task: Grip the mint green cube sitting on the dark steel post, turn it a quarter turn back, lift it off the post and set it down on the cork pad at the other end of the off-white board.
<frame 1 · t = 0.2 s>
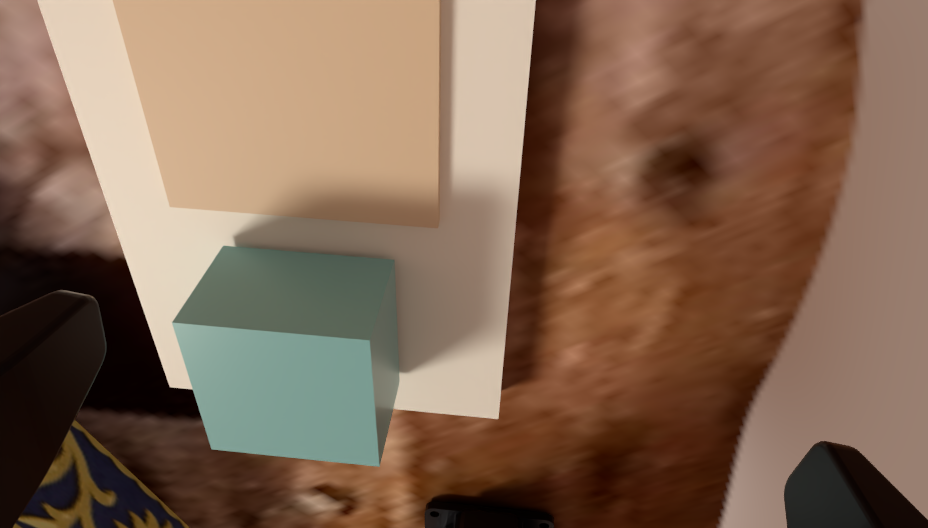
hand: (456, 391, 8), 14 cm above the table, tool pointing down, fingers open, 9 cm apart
board: (317, 188, 24), on the table
mint green cube: (317, 318, 25), point 2 cm above the table, touching board
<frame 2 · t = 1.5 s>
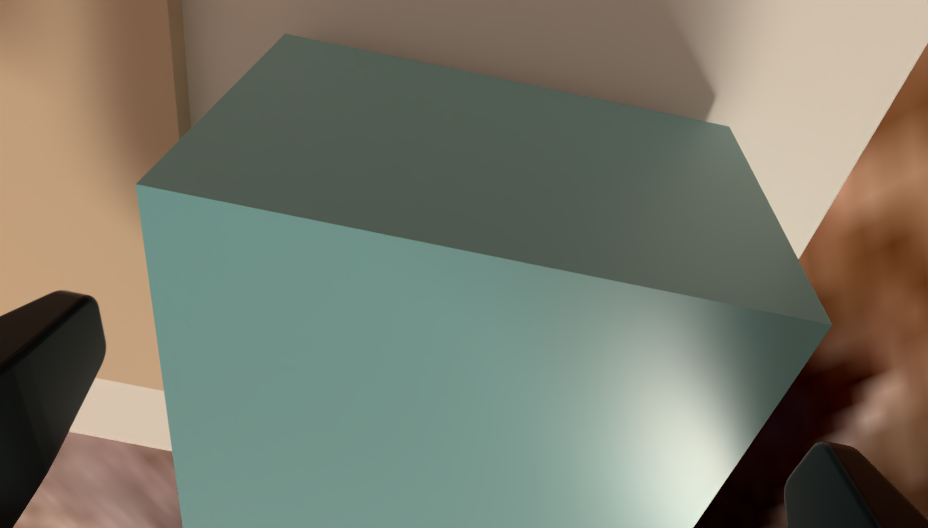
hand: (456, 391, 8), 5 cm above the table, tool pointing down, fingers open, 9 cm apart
board: (230, 150, 12), on the table
mint green cube: (468, 259, 11), point 2 cm above the table, touching board
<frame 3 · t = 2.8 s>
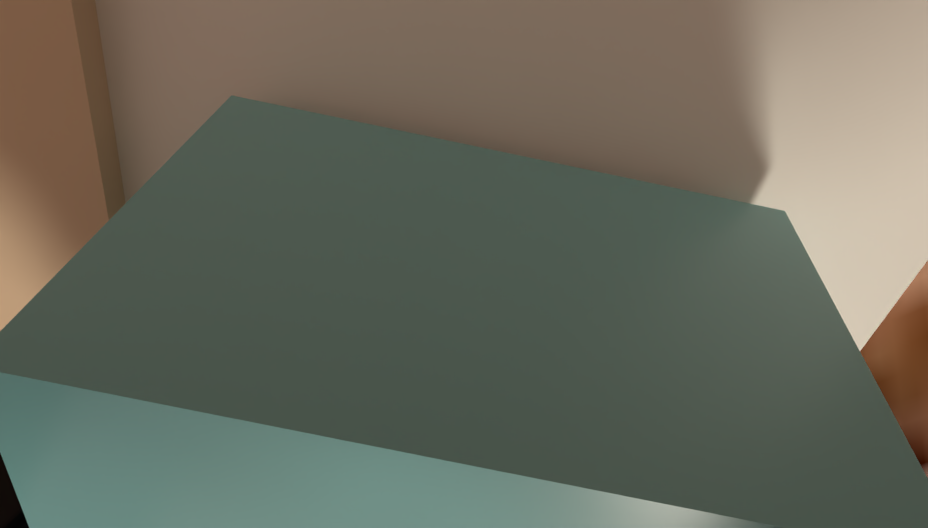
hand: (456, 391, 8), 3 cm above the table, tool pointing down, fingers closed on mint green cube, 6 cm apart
board: (184, 213, 10), on the table
mint green cube: (462, 352, 9), point 2 cm above the table, touching board, gripper
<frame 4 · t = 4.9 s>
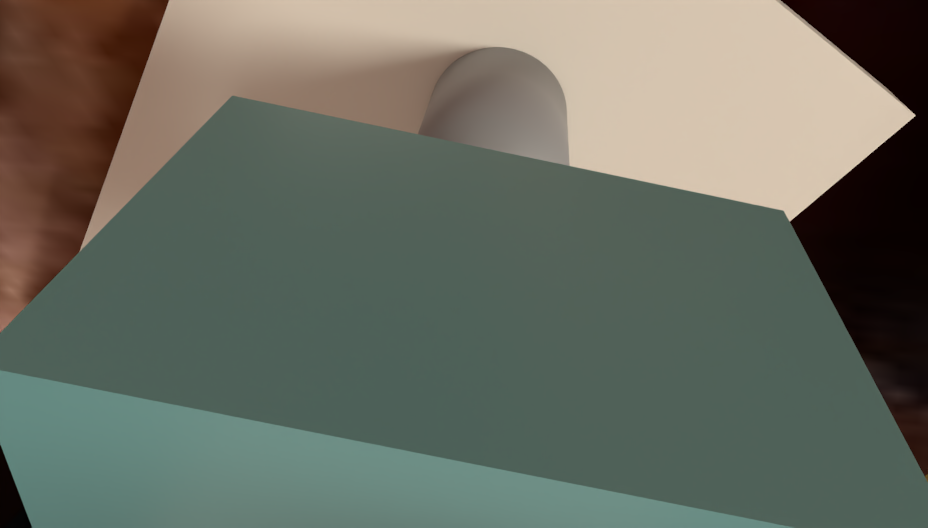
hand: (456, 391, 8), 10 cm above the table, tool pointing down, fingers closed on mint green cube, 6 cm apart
board: (407, 218, 18), on the table
mint green cube: (461, 352, 9), point 9 cm above the table, touching gripper
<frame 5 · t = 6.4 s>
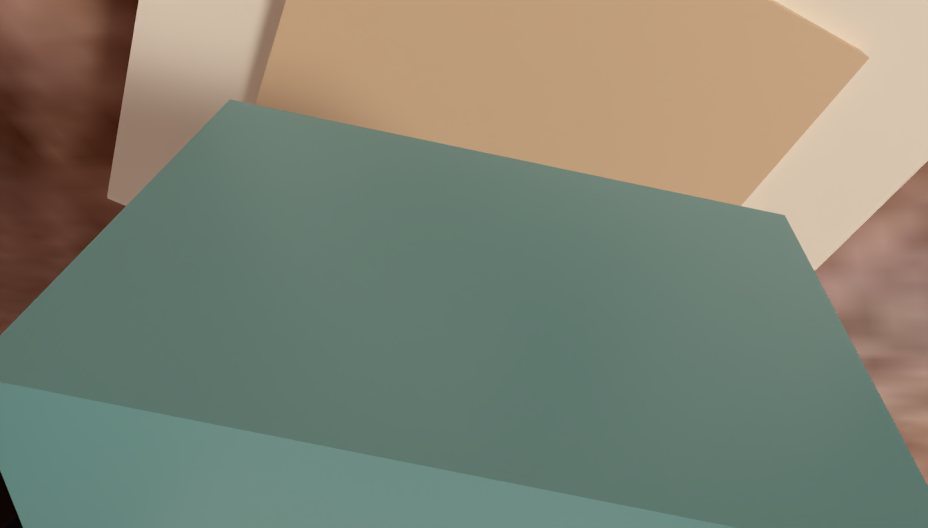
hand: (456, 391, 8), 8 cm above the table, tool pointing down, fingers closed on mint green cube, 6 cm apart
mint green cube: (461, 356, 9), point 7 cm above the table, touching gripper
when the fingers open (4 cm above the table, at t = 7.5 s): mint green cube drops 1 cm, resting on board.
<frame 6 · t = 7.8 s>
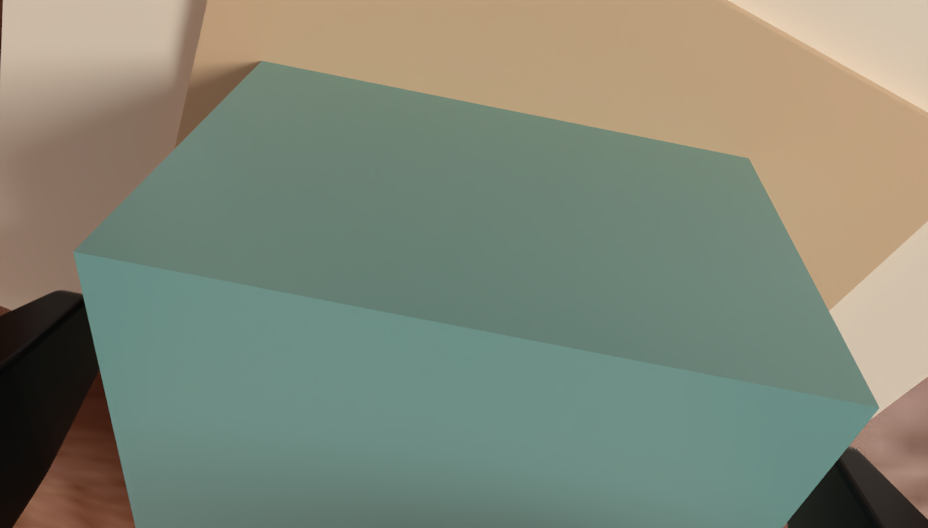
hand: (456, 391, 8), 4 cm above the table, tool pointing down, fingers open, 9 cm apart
mint green cube: (465, 297, 10), point 2 cm above the table, touching board
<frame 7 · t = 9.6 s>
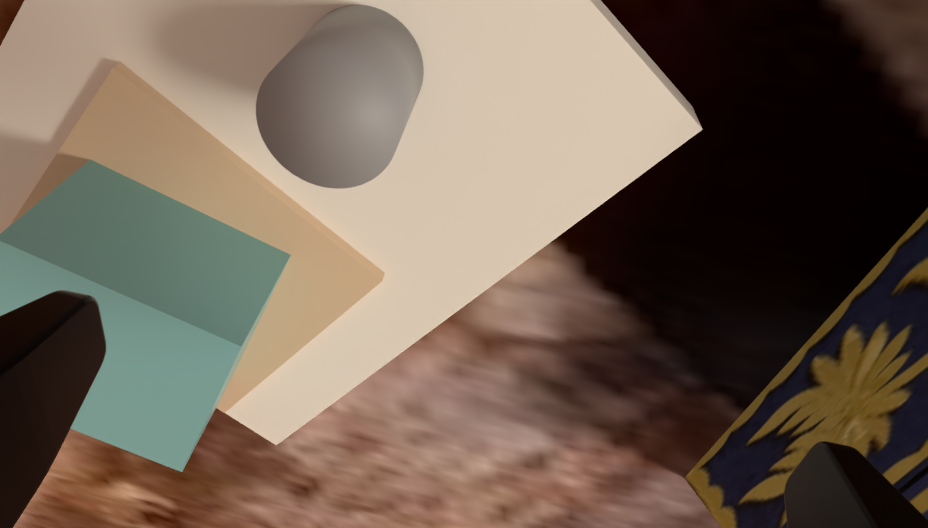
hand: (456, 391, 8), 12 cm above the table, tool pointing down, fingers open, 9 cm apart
board: (281, 152, 20), on the table
mint green cube: (169, 279, 21), point 2 cm above the table, touching board
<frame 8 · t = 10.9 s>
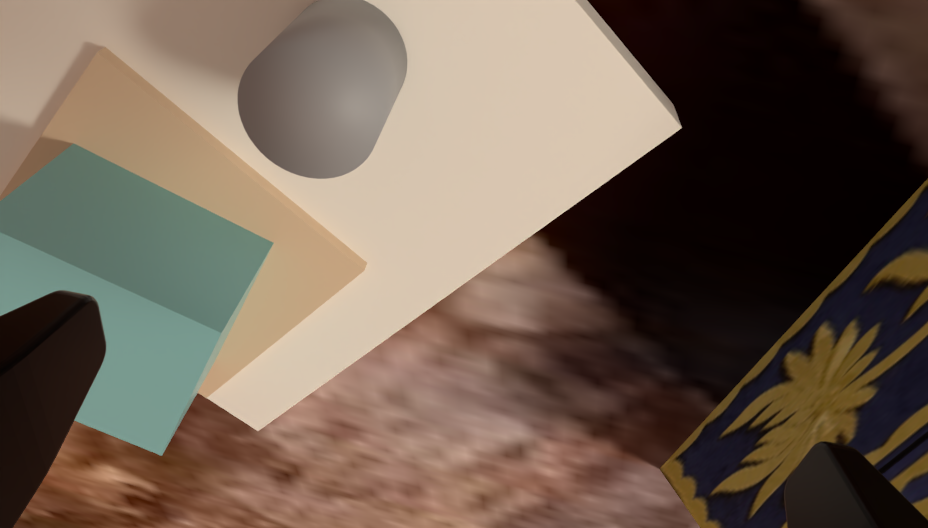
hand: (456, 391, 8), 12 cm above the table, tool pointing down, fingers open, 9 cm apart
board: (265, 140, 20), on the table
mint green cube: (152, 264, 21), point 2 cm above the table, touching board
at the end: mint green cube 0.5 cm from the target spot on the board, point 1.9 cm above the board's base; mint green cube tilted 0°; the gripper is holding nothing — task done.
